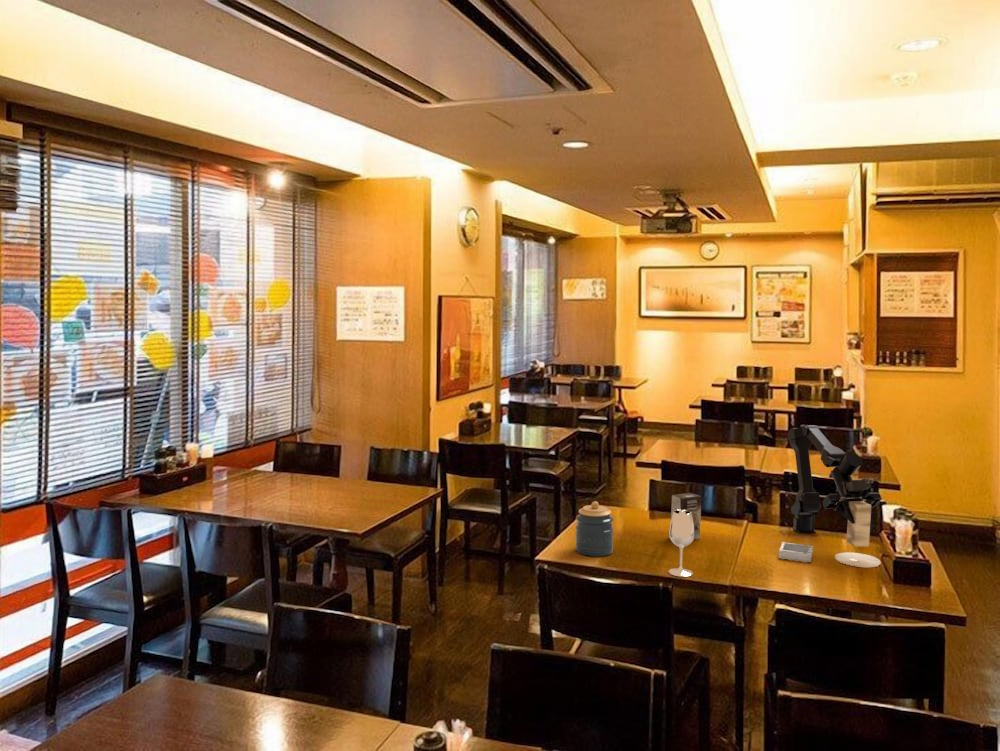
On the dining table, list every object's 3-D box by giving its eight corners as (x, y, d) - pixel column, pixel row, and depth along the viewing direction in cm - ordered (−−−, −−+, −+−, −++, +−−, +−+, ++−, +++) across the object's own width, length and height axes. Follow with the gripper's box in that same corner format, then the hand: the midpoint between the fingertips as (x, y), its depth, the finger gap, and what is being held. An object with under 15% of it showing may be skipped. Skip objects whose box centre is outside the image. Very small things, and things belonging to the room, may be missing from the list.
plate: (867, 553, 275) (867, 552, 275) (888, 567, 261) (888, 565, 261) (827, 554, 275) (827, 552, 275) (847, 567, 261) (847, 566, 261)
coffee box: (681, 542, 287) (682, 498, 286) (669, 537, 293) (670, 494, 292) (700, 539, 292) (702, 495, 290) (689, 534, 297) (690, 491, 296)
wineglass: (666, 575, 253) (667, 513, 251) (670, 567, 260) (672, 507, 258) (691, 578, 250) (692, 516, 248) (694, 570, 257) (696, 510, 255)
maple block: (846, 541, 270) (848, 501, 268) (860, 541, 270) (862, 501, 269) (854, 546, 265) (857, 505, 263) (868, 546, 265) (871, 505, 264)
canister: (620, 551, 277) (621, 501, 275) (598, 559, 268) (599, 508, 266) (590, 543, 286) (591, 495, 284) (567, 551, 276) (568, 501, 275)
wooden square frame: (782, 550, 279) (782, 542, 278) (812, 554, 274) (812, 545, 274) (778, 558, 270) (779, 550, 269) (810, 563, 265) (810, 554, 265)
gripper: (828, 470, 268) (845, 511, 258) (880, 469, 270) (898, 509, 260) (815, 487, 276) (831, 528, 267) (865, 486, 279) (882, 526, 269)
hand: (861, 522), depth 265 cm, fingers closed on maple block, 5 cm apart
